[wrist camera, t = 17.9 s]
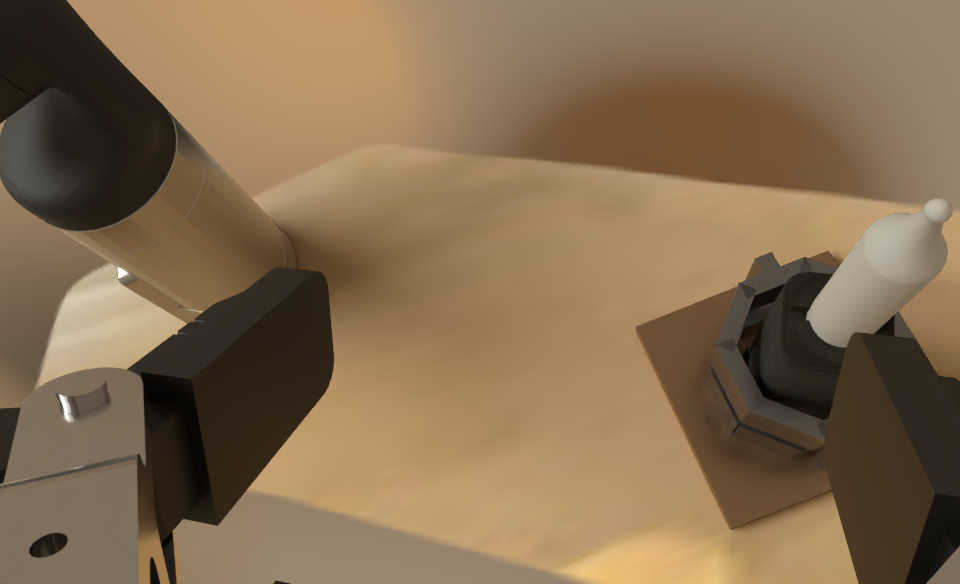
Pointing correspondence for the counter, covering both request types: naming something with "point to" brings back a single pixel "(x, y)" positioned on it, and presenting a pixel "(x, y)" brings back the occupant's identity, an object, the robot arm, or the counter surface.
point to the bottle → (844, 308)
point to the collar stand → (740, 396)
